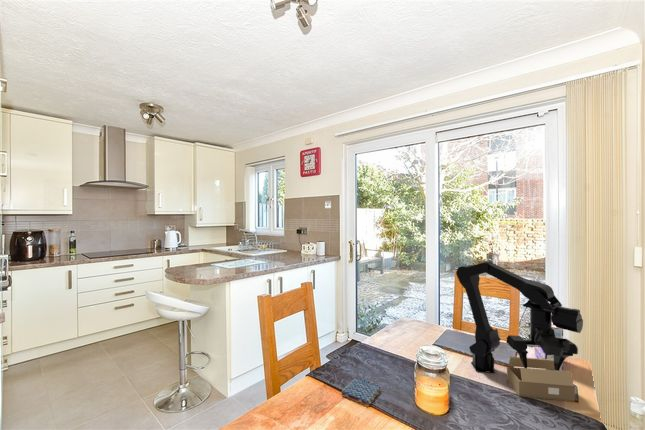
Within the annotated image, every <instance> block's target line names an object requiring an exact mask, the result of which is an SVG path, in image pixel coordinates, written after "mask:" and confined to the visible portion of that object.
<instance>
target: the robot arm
mask: <svg viewBox="0 0 645 430" xmlns="http://www.w3.org/2000/svg"><path fill="white" fill-rule="evenodd" d="M455 274H456V277H457V279H458V281H459V284H460V285H461V286H462V287H463V288H464V289H465V292H466V296H467V300H468V303H469V307H470V310H471V313H472V316H473V320H474V324H475V333H474V338H475V343H472V345H470V346H469V347H468V348H469V351H470V353H471V354H472V361H470V364H471V365H472V367H473V369H474V370H475V371H476V372H480V373H491V374H492V373H493V374H494V373H495V372H496V371H495V358H494V355H493V352H495V350H496V349H497V348H499V346H500V345H501V343H500V341H502V339H501V338H500V335H499V331H498V329H497V328H495V329H494V328H493V327H492V326H491V324H490V322H489V318H488V314H487V312H486V309H485V306H484V305H485V304H484V301H483V298H482V294H481V292H480V288H479V287H480V286H479V285H480V280H481V279H480V275H483V274H488V275H489V276H491V277H493V278H494V279H496V280H499V281H501V282H503V283H505V284H506V285H508V286H511V287H512V288H514V289H515V290H516V289H517V290H518V291H519V292H520V294H522V295H523V296H524V297H525V298H526V299H527V301H526V302H525V303H523V304H522V307H525V308H528V309H529V311H530V312H529V316H530V317H529V318H530V319H529V322H528V327H529V328H530V329H529V330H530V331H529V332H530V334H528V338H529V339H524V338H523V337H522V336H520V335H515V334H514V335H512V334H509V335H508V336H507V337H506V344H508V345H509V347H510V348H511V349H513V350H515V351H516V352H517V355H518V357H520V359H521V361H522V364H523V366H524V367H523V368H527V358H528V353H529V351H528V350H527V349H528V347H534V348H535V347H541V349H542V350H543V352H544V353H545V354H546V355H554V368H555V370H556V371H559V369H560V367H561V365H562V363H563V364H564V362H565V360H566V359H567V358H569V357H573V356H574V355H579V347H578V345H576V344H575V343H573V342H572V341H571V340H569V339H568V338H563V339H562V338H556V337H555V334H554V329H552V323H553V325H555V326H556V327H557V328H561V329H563V330H566V331H570V332H574V333H577V334H581V332H582V330H583V326H584V319H583V317H582V314H581V310H580V309H578V308H569V307H565V306H563V304H562V303H561V302H560V300H559V299H558V298H557V296H556V295H555V293H554V290H553V288H552V287H551V286H550V285H548V284H547V283H546V284H545V283H542V282H540V281H538V280H537V281H535V280H533V279H527V278H525V277H523V276H520V275H518V274H516V273H514V272H512V271H510V270H508V269H506V268H504V267H501V266H500V265H498V264H496V263H494V262H493V261H491V260H487V261H482V262H480V263H477V264H474V265H473V264H467V265H461V266H459V267H458V268H456V271H455Z"/></svg>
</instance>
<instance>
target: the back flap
mask: <svg viewBox="0 0 645 430" xmlns="http://www.w3.org/2000/svg"><path fill="white" fill-rule="evenodd" d="M508 367H514V368H524V366H523V364H522V361H521V359H520V357H519V356H510V357H509V361H508ZM527 368H532V369H544V370H548V369H552V370H555V368H554V360H551V359H538V358H537V357H536V358H535V357H534V358H533V357H527Z"/></svg>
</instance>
